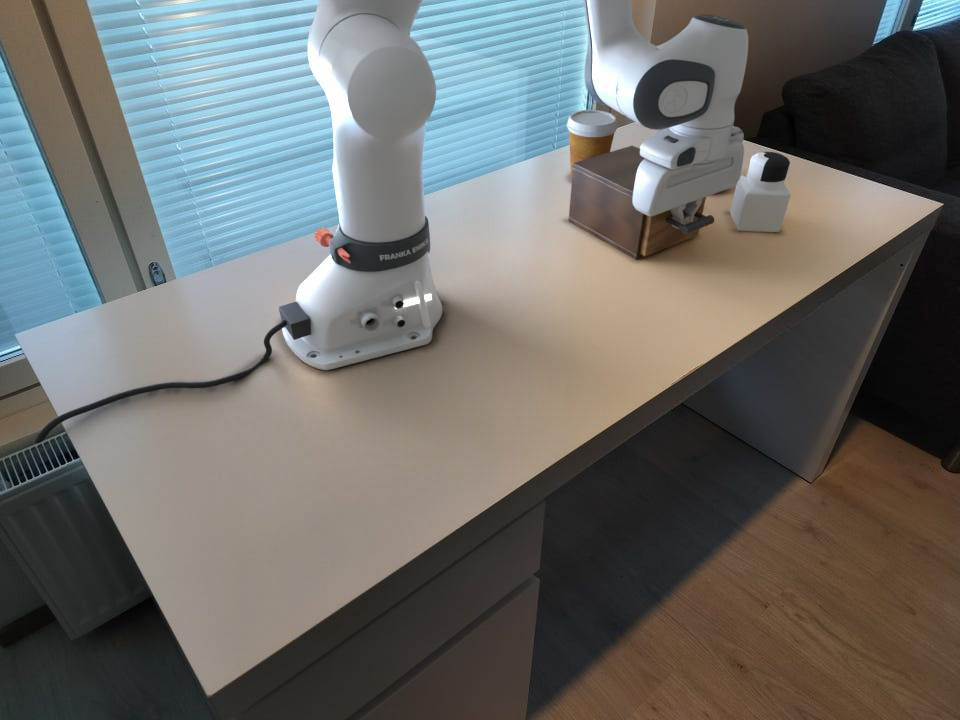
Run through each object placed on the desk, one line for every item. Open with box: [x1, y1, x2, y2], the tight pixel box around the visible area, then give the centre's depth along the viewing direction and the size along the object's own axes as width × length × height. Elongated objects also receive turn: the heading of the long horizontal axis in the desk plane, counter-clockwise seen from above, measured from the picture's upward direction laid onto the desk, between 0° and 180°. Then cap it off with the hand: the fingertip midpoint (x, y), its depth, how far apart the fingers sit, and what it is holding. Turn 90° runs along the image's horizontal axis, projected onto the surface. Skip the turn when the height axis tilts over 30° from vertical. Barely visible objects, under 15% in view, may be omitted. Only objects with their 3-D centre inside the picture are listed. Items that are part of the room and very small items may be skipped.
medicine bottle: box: [729, 151, 791, 233], centre depth 115 cm, size 7×7×12 cm
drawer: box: [640, 197, 715, 257], centre depth 112 cm, size 20×12×9 cm, turn 35°
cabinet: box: [568, 145, 646, 260], centre depth 114 cm, size 17×14×11 cm
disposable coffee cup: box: [566, 109, 619, 180], centre depth 130 cm, size 10×10×12 cm
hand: (681, 225), depth 108 cm, fingers closed, pressing on drawer
